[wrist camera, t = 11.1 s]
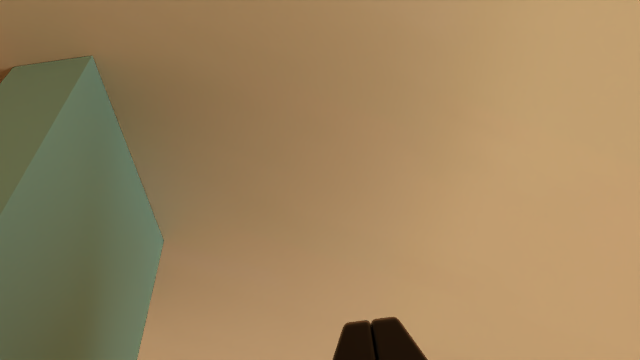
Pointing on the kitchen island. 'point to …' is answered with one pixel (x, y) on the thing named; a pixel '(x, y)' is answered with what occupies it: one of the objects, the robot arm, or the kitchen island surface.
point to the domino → (70, 220)
